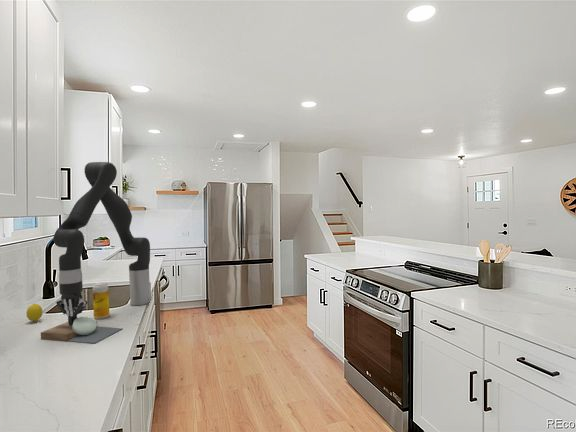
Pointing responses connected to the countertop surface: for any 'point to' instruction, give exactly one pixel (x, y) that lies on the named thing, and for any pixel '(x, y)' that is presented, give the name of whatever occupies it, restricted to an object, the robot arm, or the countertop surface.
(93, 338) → the mat
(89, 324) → the pale green rounded disc
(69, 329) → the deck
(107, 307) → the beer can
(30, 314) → the lemon
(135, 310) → the countertop surface
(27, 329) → the countertop surface
